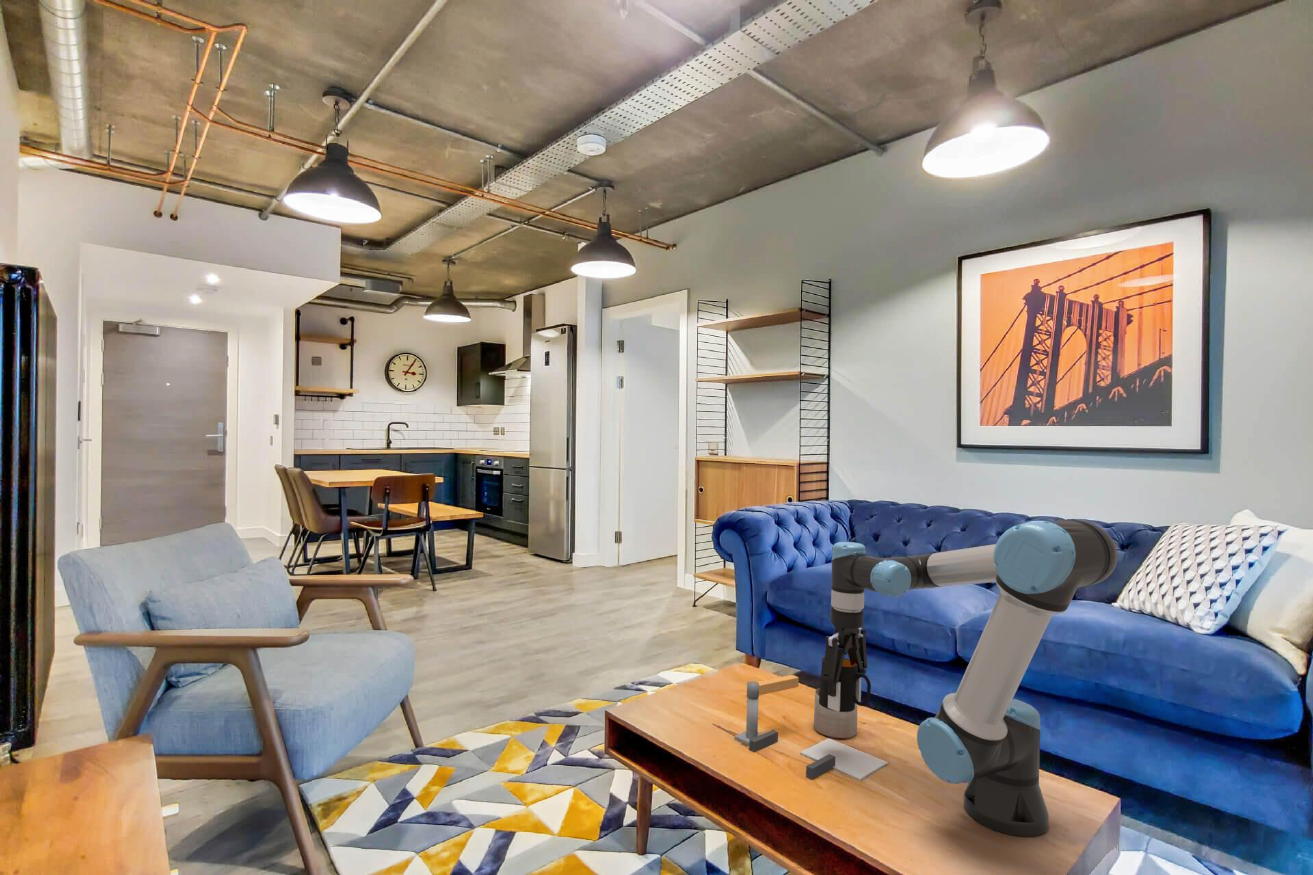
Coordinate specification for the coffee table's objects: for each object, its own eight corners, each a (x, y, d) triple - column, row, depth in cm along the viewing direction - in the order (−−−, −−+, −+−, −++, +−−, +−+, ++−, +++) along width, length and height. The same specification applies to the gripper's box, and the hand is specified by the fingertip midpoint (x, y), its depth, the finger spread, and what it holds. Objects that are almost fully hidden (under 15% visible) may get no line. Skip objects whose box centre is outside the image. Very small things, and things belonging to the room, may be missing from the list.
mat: (887, 764, 152) (887, 762, 152) (860, 780, 144) (860, 778, 144) (828, 739, 164) (828, 738, 164) (800, 753, 156) (800, 751, 156)
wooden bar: (791, 684, 171) (791, 673, 171) (799, 688, 169) (799, 676, 169) (744, 694, 163) (744, 682, 163) (751, 698, 161) (752, 686, 161)
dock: (835, 766, 150) (836, 720, 150) (812, 779, 144) (813, 731, 144) (754, 730, 168) (755, 689, 168) (730, 740, 162) (731, 697, 162)
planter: (866, 736, 167) (867, 699, 167) (830, 742, 163) (831, 704, 163) (839, 719, 177) (840, 684, 177) (805, 724, 173) (806, 688, 173)
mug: (861, 719, 148) (865, 673, 148) (812, 704, 155) (816, 659, 156) (875, 711, 154) (878, 667, 155) (827, 696, 162) (831, 654, 162)
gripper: (857, 599, 164) (854, 689, 164) (807, 611, 150) (804, 710, 150) (884, 605, 159) (882, 698, 159) (835, 618, 145) (833, 721, 145)
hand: (844, 704), depth 154 cm, fingers closed on mug, 8 cm apart
